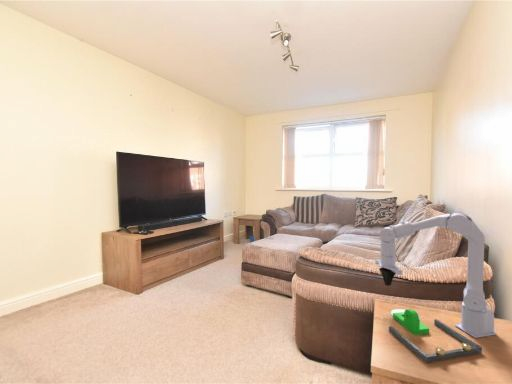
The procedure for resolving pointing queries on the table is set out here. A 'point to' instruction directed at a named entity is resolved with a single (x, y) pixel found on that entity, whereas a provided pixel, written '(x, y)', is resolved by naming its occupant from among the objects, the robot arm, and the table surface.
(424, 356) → the grey frame
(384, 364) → the table surface
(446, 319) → the table surface
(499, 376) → the table surface
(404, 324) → the mechanical part
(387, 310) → the table surface
